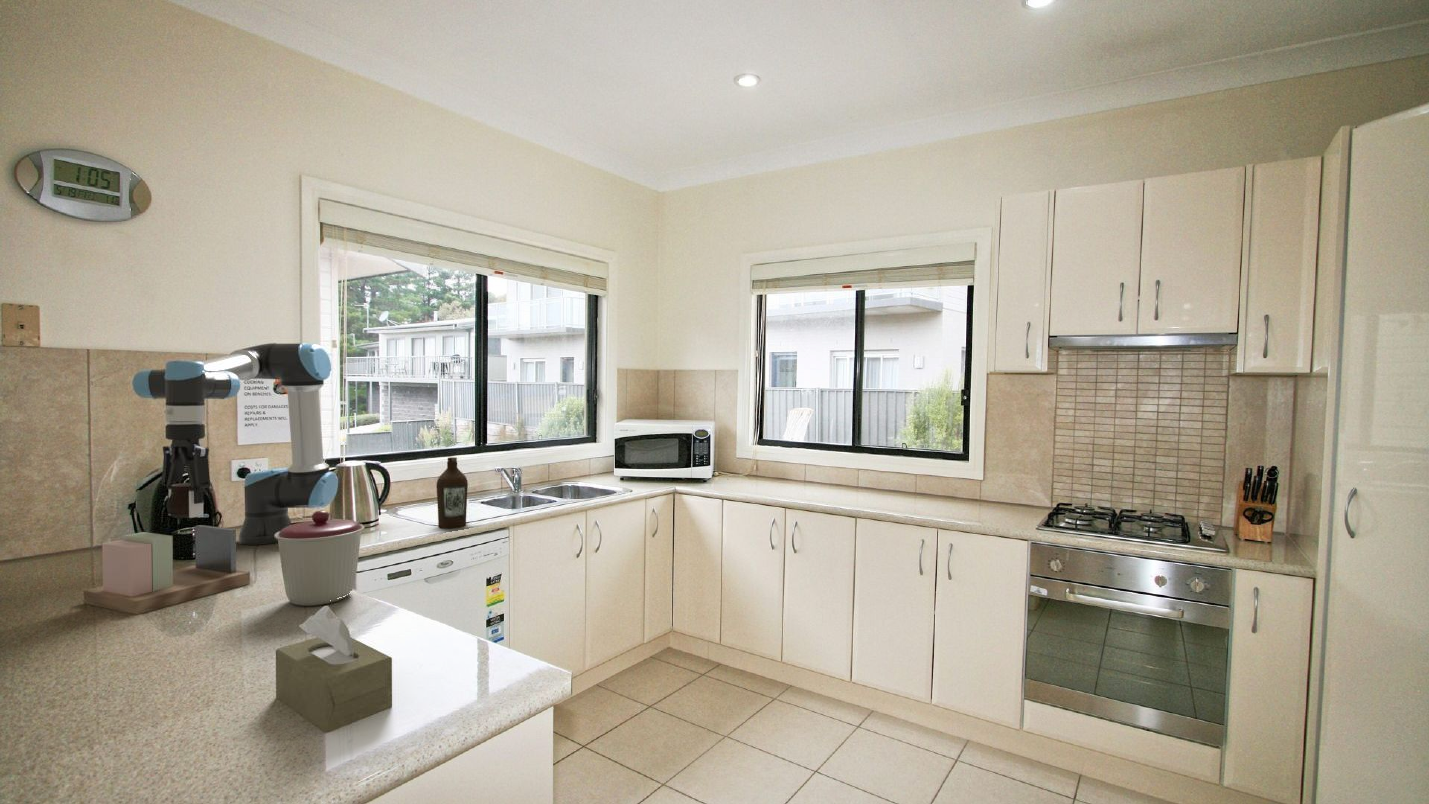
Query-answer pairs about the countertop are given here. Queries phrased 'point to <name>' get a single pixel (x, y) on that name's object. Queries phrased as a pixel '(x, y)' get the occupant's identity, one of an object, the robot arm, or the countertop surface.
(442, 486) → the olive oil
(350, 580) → the canister
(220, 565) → the bookend
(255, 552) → the countertop surface
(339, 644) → the tissue box
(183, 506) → the mate gourd
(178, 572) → the wooden serving tray
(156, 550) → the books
